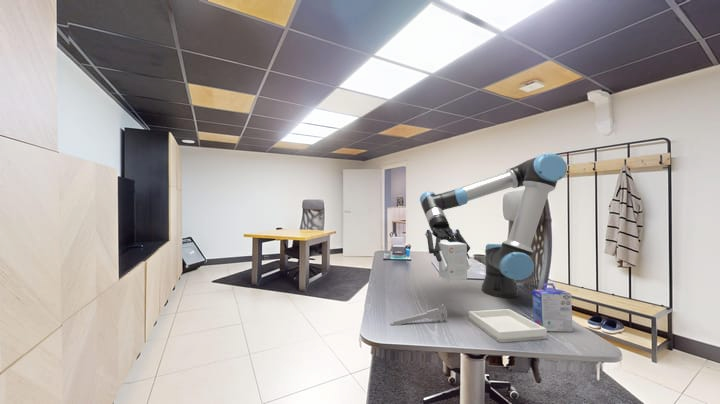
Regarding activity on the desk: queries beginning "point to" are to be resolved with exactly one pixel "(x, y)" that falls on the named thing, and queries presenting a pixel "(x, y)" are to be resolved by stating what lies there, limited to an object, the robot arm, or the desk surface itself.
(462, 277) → the small box
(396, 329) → the desk surface
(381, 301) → the desk surface
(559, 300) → the ink cartridge box
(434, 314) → the caliper
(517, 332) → the tray
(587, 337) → the desk surface
